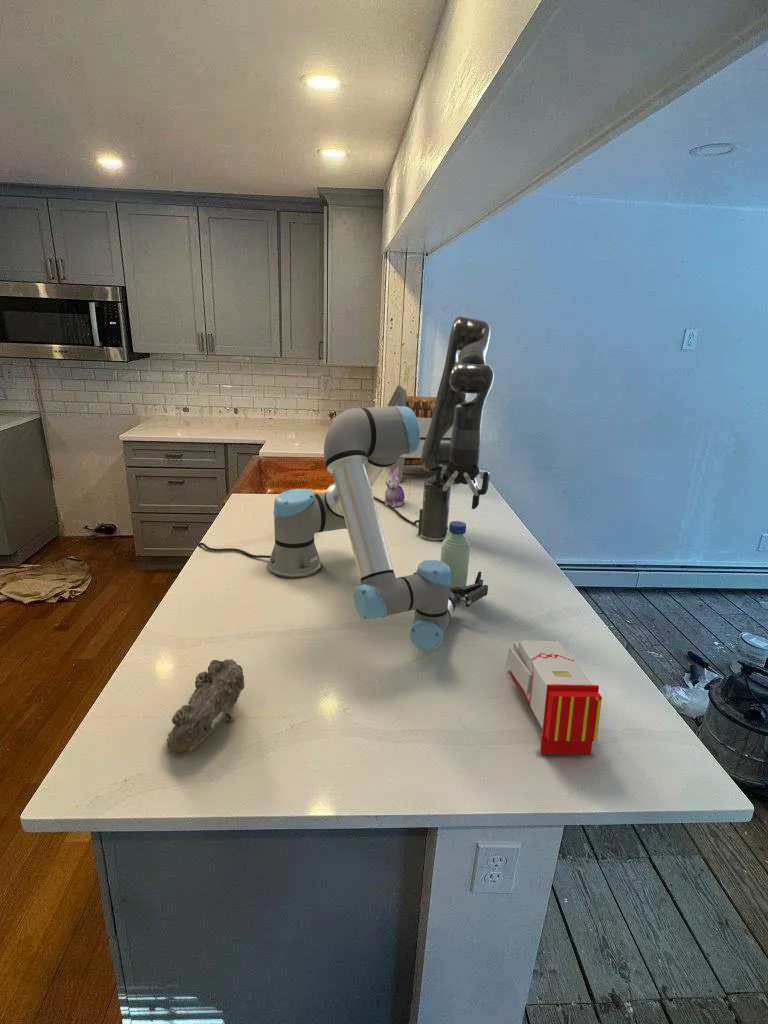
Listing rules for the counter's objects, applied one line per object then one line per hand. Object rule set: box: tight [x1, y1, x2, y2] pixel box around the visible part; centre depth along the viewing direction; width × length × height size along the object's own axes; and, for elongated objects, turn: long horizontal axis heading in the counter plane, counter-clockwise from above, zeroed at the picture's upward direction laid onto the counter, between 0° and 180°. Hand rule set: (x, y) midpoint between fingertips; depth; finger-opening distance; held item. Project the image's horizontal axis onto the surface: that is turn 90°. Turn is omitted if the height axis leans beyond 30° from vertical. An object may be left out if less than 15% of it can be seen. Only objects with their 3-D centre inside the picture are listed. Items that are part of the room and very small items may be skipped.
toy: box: [506, 640, 603, 755], centre depth 114 cm, size 12×13×30 cm
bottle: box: [439, 533, 471, 588], centre depth 155 cm, size 8×8×21 cm
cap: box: [448, 520, 467, 535], centre depth 152 cm, size 4×4×2 cm
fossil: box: [166, 658, 245, 754], centre depth 106 cm, size 22×10×15 cm
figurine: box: [383, 467, 405, 508], centre depth 227 cm, size 9×10×15 cm
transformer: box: [386, 384, 456, 484], centre depth 268 cm, size 34×33×41 cm
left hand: (455, 571), depth 158 cm, fingers open, 13 cm apart
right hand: (459, 505), depth 149 cm, fingers open, 7 cm apart
